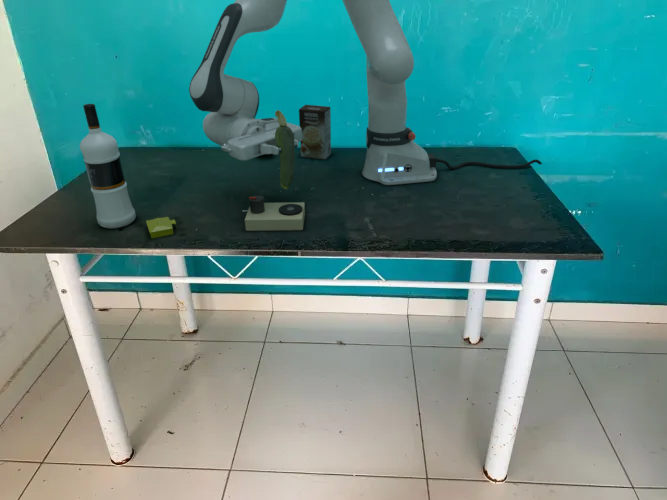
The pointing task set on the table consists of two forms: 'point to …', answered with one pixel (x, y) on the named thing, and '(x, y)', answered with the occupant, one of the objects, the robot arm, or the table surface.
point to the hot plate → (274, 218)
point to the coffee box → (315, 131)
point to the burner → (290, 209)
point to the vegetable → (285, 151)
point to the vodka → (105, 175)
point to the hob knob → (257, 204)
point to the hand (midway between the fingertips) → (288, 147)
